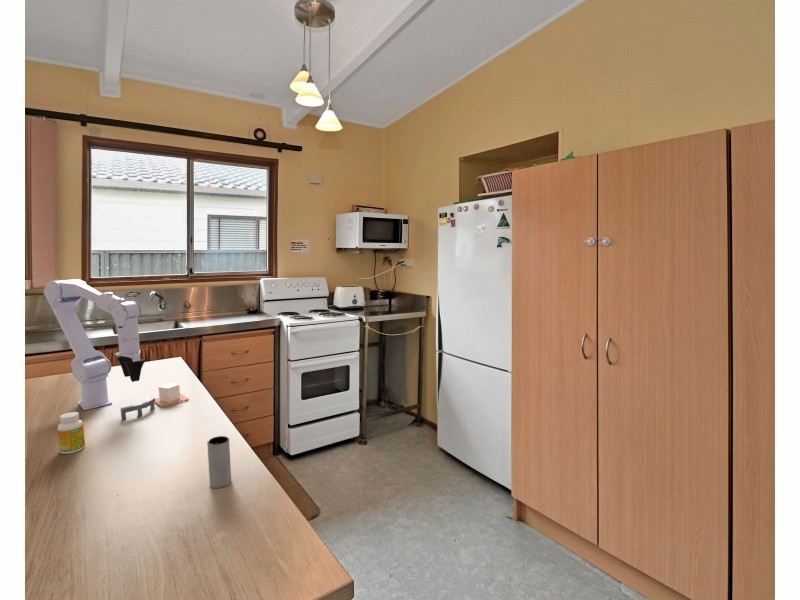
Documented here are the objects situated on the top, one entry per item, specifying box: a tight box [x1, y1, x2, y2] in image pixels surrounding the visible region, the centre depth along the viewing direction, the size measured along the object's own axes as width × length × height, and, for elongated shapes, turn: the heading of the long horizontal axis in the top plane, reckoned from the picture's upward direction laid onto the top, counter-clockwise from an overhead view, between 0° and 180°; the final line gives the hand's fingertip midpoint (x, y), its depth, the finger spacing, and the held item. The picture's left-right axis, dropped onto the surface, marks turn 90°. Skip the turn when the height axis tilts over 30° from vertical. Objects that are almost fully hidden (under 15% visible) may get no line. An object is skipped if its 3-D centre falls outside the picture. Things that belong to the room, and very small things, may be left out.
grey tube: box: [207, 435, 232, 489], centre depth 96 cm, size 4×4×10 cm
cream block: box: [158, 382, 181, 402], centre depth 148 cm, size 4×4×5 cm
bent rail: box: [119, 397, 156, 421], centre depth 137 cm, size 5×10×4 cm, turn 137°
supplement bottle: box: [57, 411, 86, 455], centre depth 113 cm, size 5×5×10 cm
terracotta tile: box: [154, 393, 190, 408], centre depth 149 cm, size 9×9×1 cm
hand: (131, 378), depth 141 cm, fingers open, 7 cm apart
